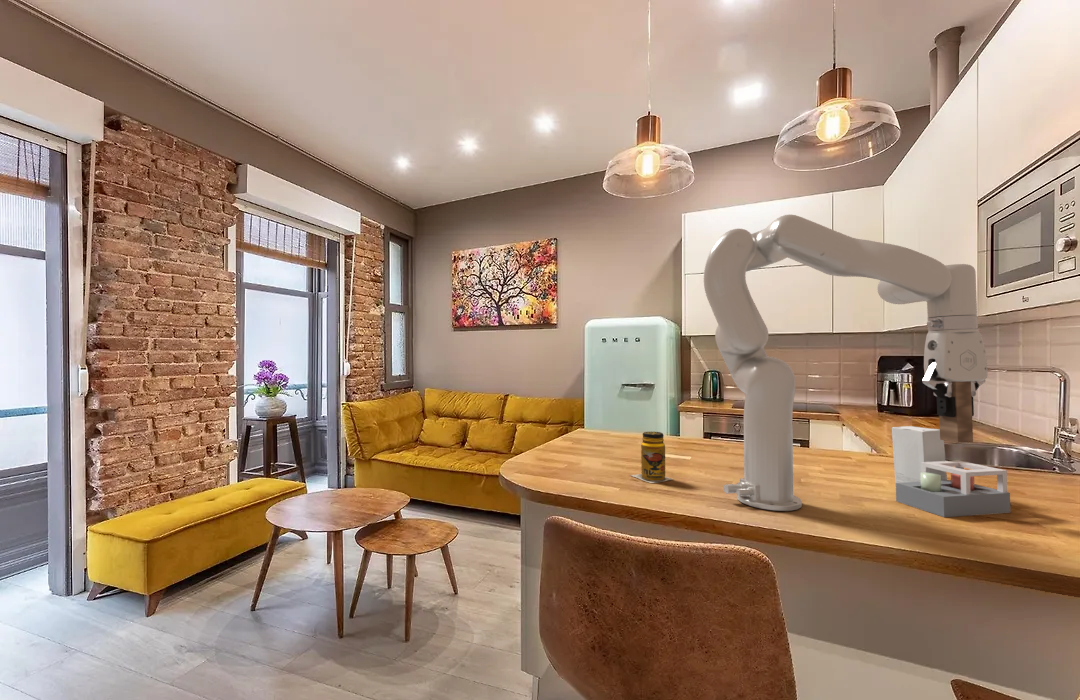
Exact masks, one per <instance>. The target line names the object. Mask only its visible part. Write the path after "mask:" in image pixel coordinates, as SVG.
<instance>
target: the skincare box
mask: <svg viewBox="0 0 1080 700" xmlns="http://www.w3.org/2000/svg"><path fill="white" fill-rule="evenodd" d="M891 437H892V438H891V439H892V453H893V467H894V482H895V487H896V483H903V482H921V462H937V461H946V451H945V450H946V449H945V448H946V447H945V441H944V440H940V428H938V429H937V428H930V427H929V428H927V427H919V426H912V425H909V426H906V425H905V426H903V425H902V426H893V427H891ZM930 473H934V474H939V475H941V480H948V475H947V473H948V472H945V471H941V470H937V469H932V468H930Z"/></svg>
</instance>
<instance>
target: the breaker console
mask: <svg viewBox="0 0 1080 700" xmlns="http://www.w3.org/2000/svg"><path fill="white" fill-rule="evenodd" d="M930 468H932V469H937V470H941V471H945V472H946V473H950V474H951V473H953V474H958V475H961V490H960V489H956V488H953V487H951V479H947V480H941V492H930V491H926V490H923V489H921V482H903V483H896V486H895V502H897V503H899V504H900V503H901V504H904V505H906V506H909V507H912V508H916V509H918V510H922V511H925V512H927V513H930V514H934V515H937V516H940V517H943V518H949V517H950V518H951V517H952V518H953V517H967V516H981V515H994V514H995V515H997V514H1008V513H1009V514H1010V513H1011V492H1009V491H1008V483H1007V482H1008V477H1007V476H1008V475H1007V472H1008V471H1007V469H1002V468H996V467H992V466H987V465H983V464H978V463H972V462H968V461H964V460H945V461H937V462H921V473H922V472H926V473H930ZM970 476H974V477H976V476H977V477H984V476H996V479H997V481H996V484H997V485H996V487H997V489H996V488H992V487H988V486H985V485H980V484H975V483H974V491H970Z"/></svg>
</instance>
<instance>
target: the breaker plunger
mask: <svg viewBox="0 0 1080 700" xmlns="http://www.w3.org/2000/svg"><path fill="white" fill-rule="evenodd" d="M950 480H951V487H953V488H956V489H960V490H961V475H958V474H953V473H950ZM974 484H975V476H970V491H974Z"/></svg>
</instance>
